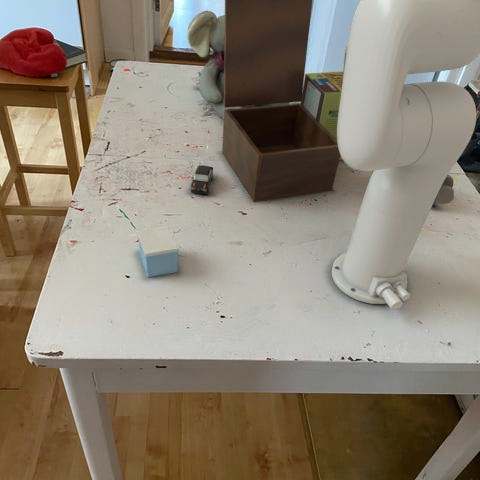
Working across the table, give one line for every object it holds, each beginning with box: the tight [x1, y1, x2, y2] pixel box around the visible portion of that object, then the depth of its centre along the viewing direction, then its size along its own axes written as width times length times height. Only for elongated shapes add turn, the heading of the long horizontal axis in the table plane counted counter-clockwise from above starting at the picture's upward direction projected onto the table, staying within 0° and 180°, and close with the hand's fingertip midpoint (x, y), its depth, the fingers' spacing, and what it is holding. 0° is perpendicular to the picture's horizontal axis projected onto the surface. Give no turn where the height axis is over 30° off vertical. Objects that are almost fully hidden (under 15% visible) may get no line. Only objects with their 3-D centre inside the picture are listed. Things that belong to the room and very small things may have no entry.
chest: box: [221, 102, 341, 203], centre depth 98 cm, size 20×18×10 cm
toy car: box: [190, 129, 214, 195], centre depth 94 cm, size 4×12×8 cm, turn 172°
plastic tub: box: [136, 225, 179, 278], centre depth 77 cm, size 6×5×5 cm
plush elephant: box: [186, 10, 290, 120], centre depth 116 cm, size 27×22×21 cm
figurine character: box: [431, 174, 455, 208], centre depth 96 cm, size 7×8×15 cm
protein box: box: [300, 71, 344, 162], centre depth 105 cm, size 10×15×16 cm
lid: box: [224, 0, 313, 107], centre depth 95 cm, size 20×18×5 cm
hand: (260, 16), depth 93 cm, fingers open, 9 cm apart
